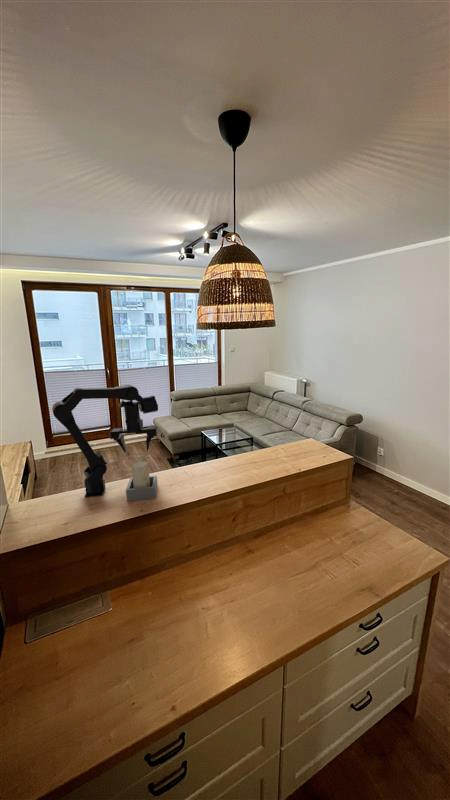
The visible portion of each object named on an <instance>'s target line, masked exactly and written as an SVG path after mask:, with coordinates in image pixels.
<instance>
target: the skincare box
mask: <svg viewBox="0 0 450 800" xmlns="http://www.w3.org/2000/svg"><path fill="white" fill-rule="evenodd" d="M149 469H150V468H149V461H147V460H146V461H144V460H143V461H140V460H137V462H136V463H135V464H133V465H132V466H131V473H132V478H133V486H134V488H143V487H150V478H149V476H150V470H149Z"/></svg>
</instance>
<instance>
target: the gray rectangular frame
mask: <svg viewBox="0 0 450 800" xmlns="http://www.w3.org/2000/svg"><path fill="white" fill-rule="evenodd" d="M149 478H150V487H143V488H134V486H133V477H130V478H129V480H128V483H127V486H126V489H125V493H126V494H125V495H126V502H133V501H134V502H135V501H143V500H144V501H146V500H154V499H156V498H157V497H156V496H157V492H158V491H157V490H158V476H157V475H149Z"/></svg>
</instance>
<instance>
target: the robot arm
mask: <svg viewBox="0 0 450 800" xmlns="http://www.w3.org/2000/svg"><path fill="white" fill-rule="evenodd" d="M90 399H91V400H94V399H95V400H96V399H99V400H101V399H118V400H121V401H120V402H119V403H118V407H120V408H123V410H124V417H125V420H124V422H125V426H126V429H125V430H124V429H123V428H122V427H116V428H115V427H114V428H113V429H112V430H111V431H110V432H109V439H110V440H113V441H114V442H116V443H117V444H118V445H119V446H120V448H121V449H122V450H123V452H124V453H125V454H126V453H127V448H126V447H127V446H126V442H125V436H128V435H141V434H143V435H144V434H146V441H145V443H146V451H147V452H148V451H149V449H150V445H151V442H152V441H151V440H152V439H154V438H155V437H156V436H158V433H159V427H158V426H157V425H148V426H147V428H143V427H144V419H141V415H140V412H141V413H142V414H144V415H145V414H149V413H150V414H151V413H156V412H158V410H159V404H158V401H157V399H156V396H155V395H150V396H144V397H143V396H141V395H140V393H139V390H138V388H137V387H135V386H133V385H132V384H122V385H118V386H115V387H88V388H87V387H86V388H84V387H76V388H74V389H73V390H72V391H71V392H70V393H69V394H68V395H66V396H65V397H63V398H62V400H60V401H56V402H55V403H54V404H53V405H52V407H51V411H52V414H53V416H54V418H56V420H57V421H58V422H59V423H60V424H62V426H63V427H64V428H65V429H66V430H67V431H68V432H69V434H70V436H71V437H72V438H73V440H74V442H75V444H76V445H77V446H78V448H79V450H80V451H81V453H82V454H83V456H84V458H85V460H86V463H87V465H88V466H87V467H86V468H85V469H84V470H83V475H84V476H85V478H84V487H85V488H86V489H85V495H84V497H85V498H88V497H90V498H91V497H99V496H100V497H101V496H103V494H104V493H105V491H106V482H105V481H106V480H105V479H104V475H105V473H107V470H108V467H107V465H108V463H107V461H106V459H105V458H104V457H103V455H102V453H101V451H97V452H96V451H95V450H94V449H93V448H92V446H91V444H89V441H88V440H87V439H86V437H85V435H84V434H83V432H82V431H81V429H80V427H79V425H78V424H77V422H76V419H75V416H74V414H73V412H72V411H73V410H75V408H76V407H77V406H78V405H79V404H80V402H81V401H82V400H90ZM134 401H135V402H134Z"/></svg>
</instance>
